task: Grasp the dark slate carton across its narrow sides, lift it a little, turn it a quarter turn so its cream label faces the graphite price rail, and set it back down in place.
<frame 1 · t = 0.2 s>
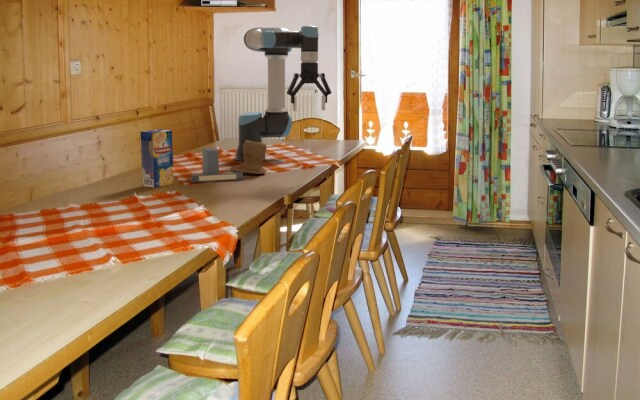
hand: (309, 110, 344), 28 cm above the table, fingers open, 13 cm apart
price rail: (217, 180, 327), on the table
blue food box: (158, 185, 316), on the table
brown piece: (250, 174, 346), on the table
slate carton: (210, 176, 337), on the table
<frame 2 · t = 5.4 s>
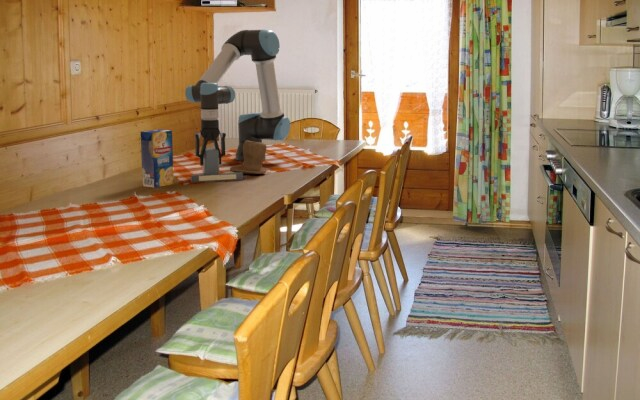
hand: (210, 172, 337), 2 cm above the table, fingers closed on slate carton, 5 cm apart
slate carton: (210, 176, 337), on the table, touching gripper
everything else where it was.
when the fingers open (3 cm above the table, at t = 11.8 s): slate carton drops 1 cm, on the table.
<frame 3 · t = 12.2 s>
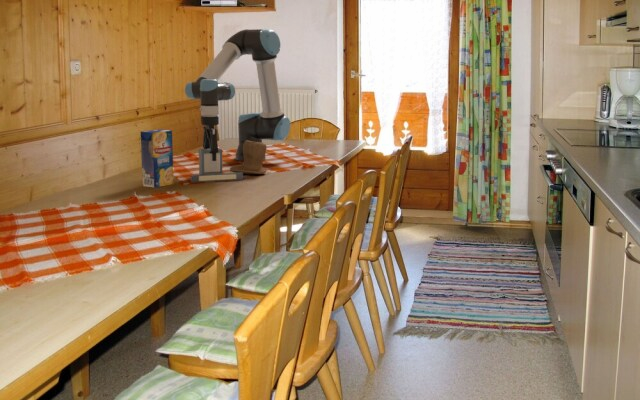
hand: (210, 166, 336), 4 cm above the table, fingers open, 11 cm apart
slate carton: (210, 176, 337), on the table
everything else where it was.
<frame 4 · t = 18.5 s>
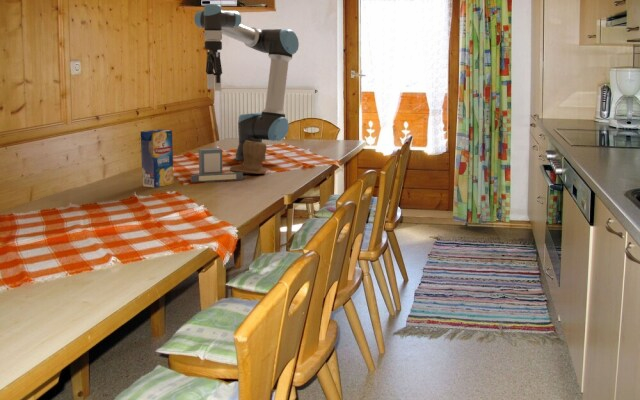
hand: (214, 89, 343), 37 cm above the table, fingers open, 13 cm apart
nothing on the table moved.
at the end: slate carton inside the target area on the table beside the price rail (0.2 cm from its centre), on the table; slate carton tilted 0°; the gripper is holding nothing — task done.
